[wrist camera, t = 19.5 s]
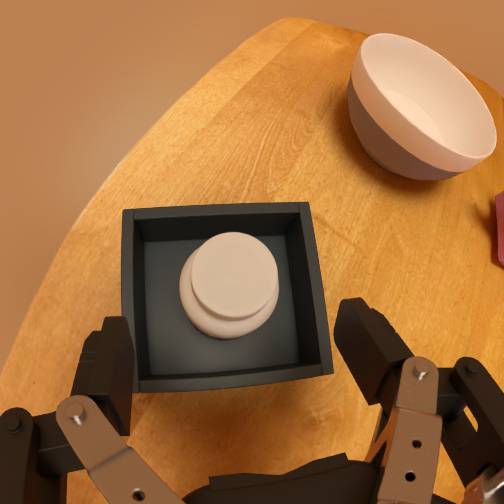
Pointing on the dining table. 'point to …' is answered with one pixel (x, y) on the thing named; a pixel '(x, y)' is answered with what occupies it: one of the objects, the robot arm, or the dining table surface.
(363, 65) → the bowl
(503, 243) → the teapot
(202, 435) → the dining table surface
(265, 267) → the pill bottle
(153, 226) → the tub
